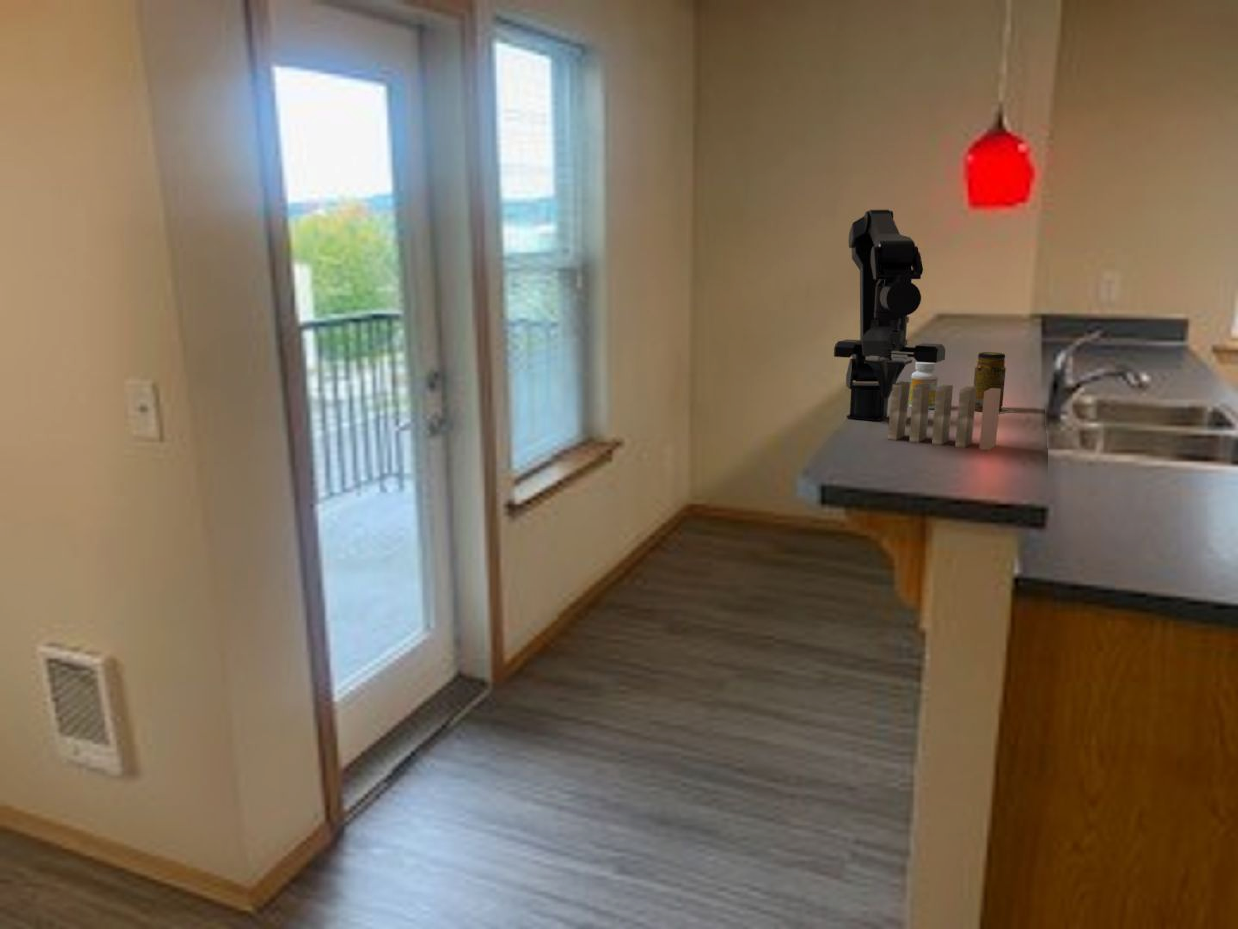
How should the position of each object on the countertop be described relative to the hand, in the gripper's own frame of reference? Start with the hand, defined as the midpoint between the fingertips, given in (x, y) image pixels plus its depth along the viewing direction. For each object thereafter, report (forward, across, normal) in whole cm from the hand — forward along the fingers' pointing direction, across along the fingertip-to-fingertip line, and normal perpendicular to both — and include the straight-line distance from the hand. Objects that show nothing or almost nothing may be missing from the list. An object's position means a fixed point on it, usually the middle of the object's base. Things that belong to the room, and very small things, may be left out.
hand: (885, 398), depth 168 cm
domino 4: (+7, +14, 0) cm, 16 cm away
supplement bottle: (+7, -3, +34) cm, 35 cm away
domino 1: (+7, +2, 0) cm, 7 cm away
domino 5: (+7, +18, 0) cm, 20 cm away
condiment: (+7, +10, +38) cm, 40 cm away
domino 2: (+7, +6, 0) cm, 9 cm away
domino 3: (+7, +10, 0) cm, 13 cm away
